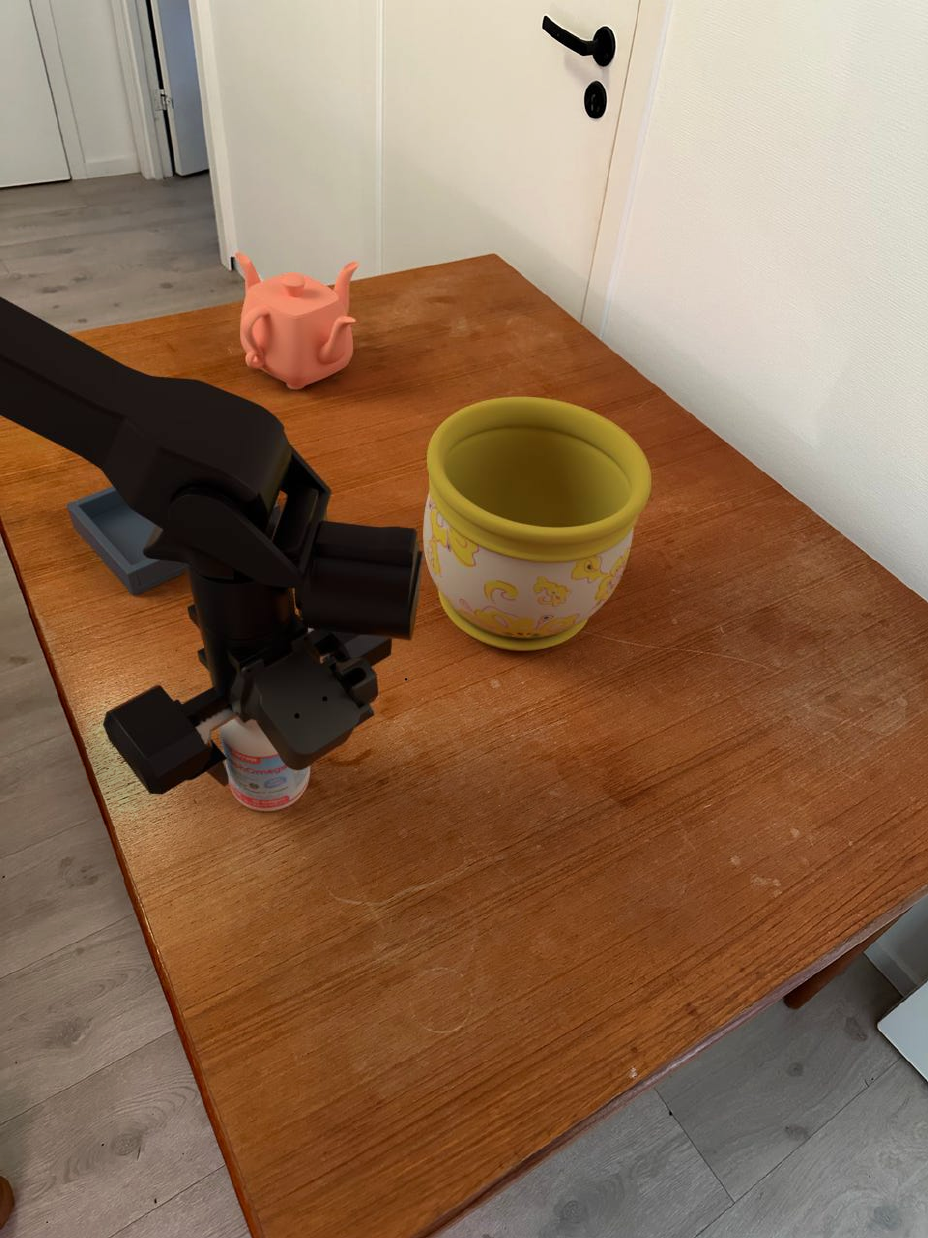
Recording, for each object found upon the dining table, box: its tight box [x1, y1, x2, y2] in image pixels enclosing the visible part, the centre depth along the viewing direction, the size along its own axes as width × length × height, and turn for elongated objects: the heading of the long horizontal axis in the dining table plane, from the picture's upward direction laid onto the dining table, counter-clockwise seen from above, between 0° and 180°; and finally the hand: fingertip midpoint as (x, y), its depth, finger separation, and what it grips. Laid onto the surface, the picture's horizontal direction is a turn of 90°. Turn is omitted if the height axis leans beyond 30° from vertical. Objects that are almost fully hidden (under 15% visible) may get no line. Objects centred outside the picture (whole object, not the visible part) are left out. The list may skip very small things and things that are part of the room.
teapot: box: [234, 252, 360, 390], centre depth 100 cm, size 14×14×11 cm
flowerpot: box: [422, 396, 652, 652], centre depth 75 cm, size 18×18×16 cm
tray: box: [65, 485, 281, 597], centre depth 83 cm, size 16×12×3 cm
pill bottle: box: [218, 717, 311, 812], centre depth 62 cm, size 6×6×11 cm
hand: (268, 752), depth 63 cm, fingers closed on pill bottle, 7 cm apart
